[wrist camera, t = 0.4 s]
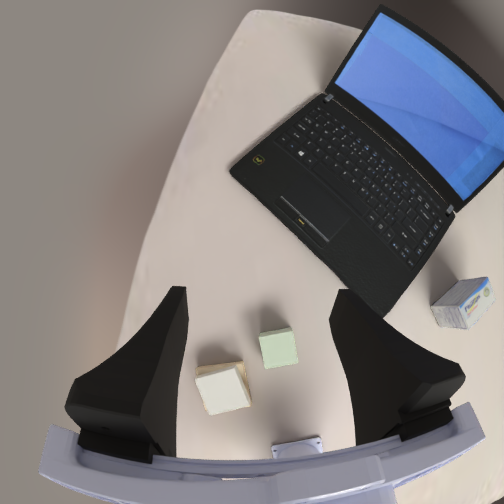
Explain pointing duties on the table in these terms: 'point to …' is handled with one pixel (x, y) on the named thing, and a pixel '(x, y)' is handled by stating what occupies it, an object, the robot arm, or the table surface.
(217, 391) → the top slab
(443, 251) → the table surface
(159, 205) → the table surface
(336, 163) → the laptop
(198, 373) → the bottom slab
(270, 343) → the cube
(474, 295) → the medicine box
